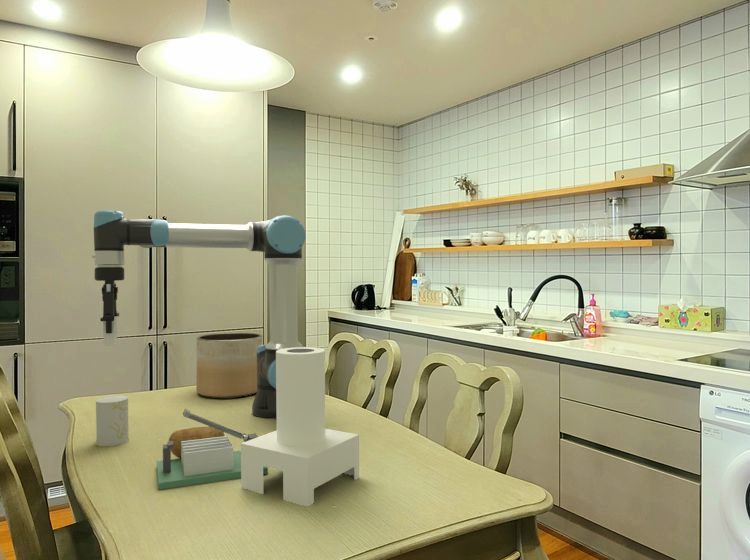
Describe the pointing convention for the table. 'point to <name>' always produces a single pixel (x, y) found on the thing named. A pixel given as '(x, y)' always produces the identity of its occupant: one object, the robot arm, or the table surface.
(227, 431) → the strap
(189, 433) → the potato
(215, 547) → the table surface
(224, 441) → the heatsink board
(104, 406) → the white patterned canister
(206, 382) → the planter
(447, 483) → the table surface
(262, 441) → the paper towel holder
